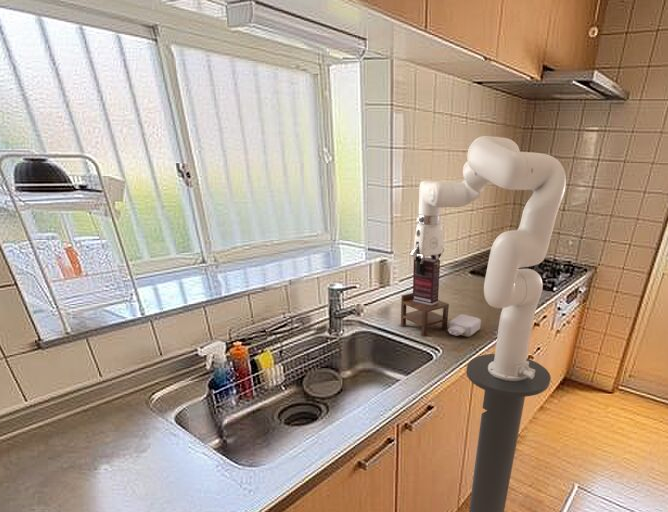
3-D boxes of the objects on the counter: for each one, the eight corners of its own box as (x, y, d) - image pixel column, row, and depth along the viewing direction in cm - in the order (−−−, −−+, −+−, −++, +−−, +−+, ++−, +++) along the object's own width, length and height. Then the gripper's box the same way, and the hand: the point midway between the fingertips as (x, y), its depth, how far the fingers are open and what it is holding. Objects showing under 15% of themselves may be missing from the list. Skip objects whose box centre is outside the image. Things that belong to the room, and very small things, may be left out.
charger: (439, 336, 152) (458, 324, 164) (462, 343, 148) (479, 330, 160) (440, 324, 150) (459, 313, 161) (463, 330, 146) (481, 318, 158)
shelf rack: (446, 329, 159) (449, 298, 154) (423, 336, 151) (425, 304, 146) (423, 319, 167) (425, 290, 162) (400, 325, 159) (401, 295, 154)
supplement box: (438, 302, 155) (441, 259, 147) (431, 306, 151) (434, 262, 144) (418, 298, 158) (420, 255, 151) (411, 301, 155) (413, 258, 147)
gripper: (418, 223, 134) (415, 279, 142) (454, 220, 145) (450, 272, 153) (402, 220, 138) (401, 274, 147) (439, 217, 149) (436, 268, 158)
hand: (426, 272), depth 150 cm, fingers closed on supplement box, 5 cm apart
